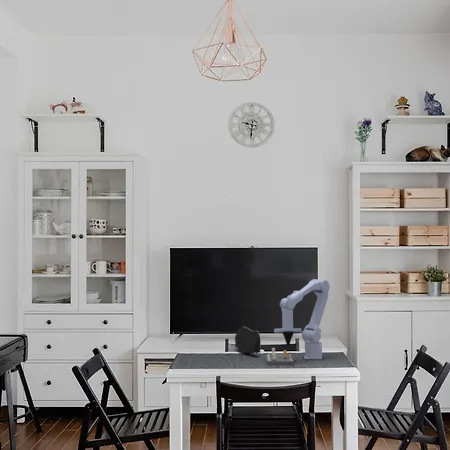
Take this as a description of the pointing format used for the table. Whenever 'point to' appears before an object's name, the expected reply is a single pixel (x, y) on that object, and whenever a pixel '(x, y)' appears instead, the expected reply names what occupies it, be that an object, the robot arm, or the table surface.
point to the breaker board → (279, 359)
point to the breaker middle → (285, 354)
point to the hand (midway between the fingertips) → (288, 345)
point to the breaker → (273, 350)
